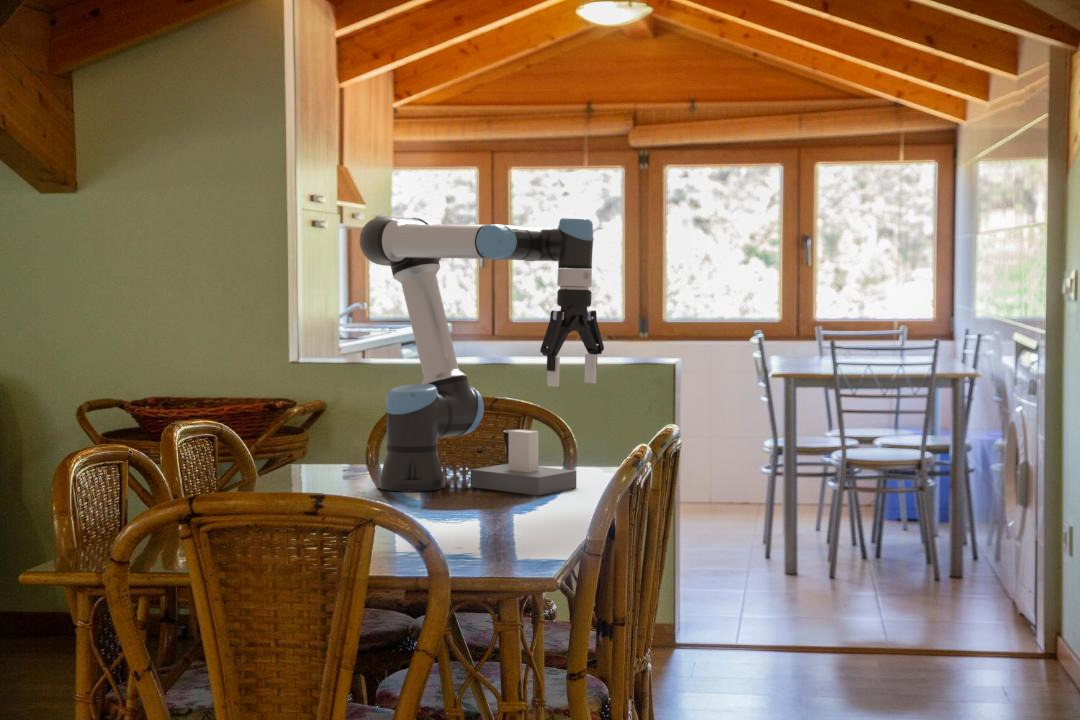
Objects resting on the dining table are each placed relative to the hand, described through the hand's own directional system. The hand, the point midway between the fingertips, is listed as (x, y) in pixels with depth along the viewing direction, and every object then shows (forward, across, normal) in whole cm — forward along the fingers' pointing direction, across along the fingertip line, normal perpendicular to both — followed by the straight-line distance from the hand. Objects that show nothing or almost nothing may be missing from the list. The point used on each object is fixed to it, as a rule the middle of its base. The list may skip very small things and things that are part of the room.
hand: (571, 384), depth 288 cm
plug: (+25, +1, +14) cm, 29 cm away
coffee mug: (+26, +21, +32) cm, 46 cm away
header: (+25, +1, +14) cm, 29 cm away
